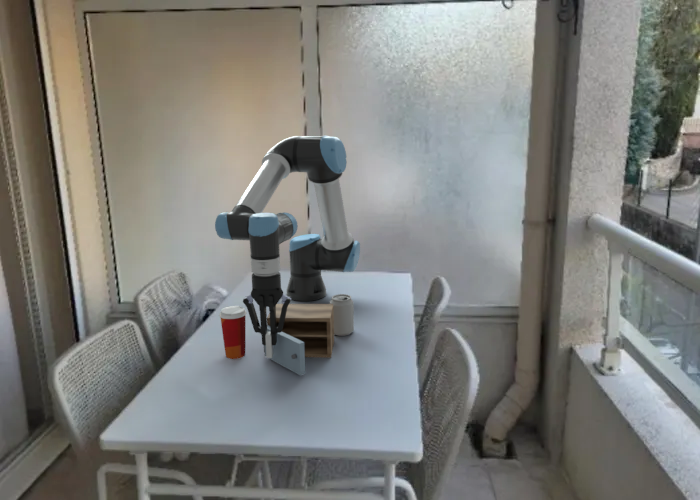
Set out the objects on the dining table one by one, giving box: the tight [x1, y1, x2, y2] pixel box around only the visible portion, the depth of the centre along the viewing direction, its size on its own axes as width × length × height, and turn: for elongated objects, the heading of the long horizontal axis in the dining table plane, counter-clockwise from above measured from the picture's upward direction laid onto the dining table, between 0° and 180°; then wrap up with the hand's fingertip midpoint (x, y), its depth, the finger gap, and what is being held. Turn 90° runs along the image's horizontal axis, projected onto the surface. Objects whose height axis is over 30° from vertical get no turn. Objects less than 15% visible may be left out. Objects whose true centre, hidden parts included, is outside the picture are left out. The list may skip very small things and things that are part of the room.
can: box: [329, 293, 355, 337], centre depth 180 cm, size 8×8×12 cm
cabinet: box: [267, 303, 335, 358], centre depth 168 cm, size 12×18×12 cm, turn 87°
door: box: [263, 325, 306, 376], centre depth 156 cm, size 3×18×9 cm, turn 42°
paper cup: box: [218, 305, 247, 360], centre depth 164 cm, size 8×8×14 cm
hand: (270, 355), depth 154 cm, fingers closed
